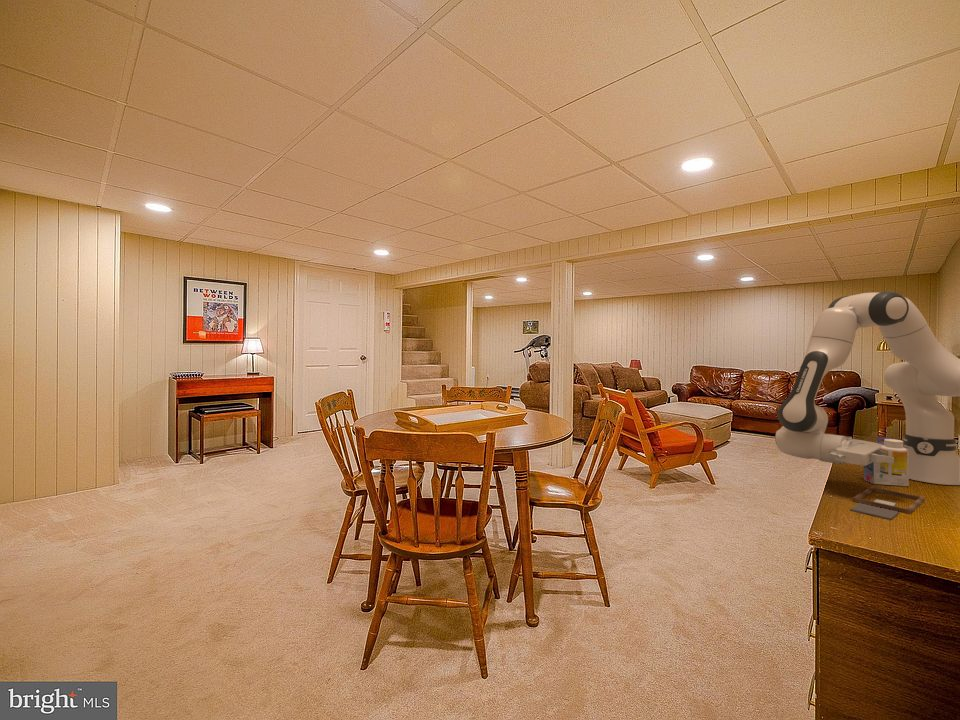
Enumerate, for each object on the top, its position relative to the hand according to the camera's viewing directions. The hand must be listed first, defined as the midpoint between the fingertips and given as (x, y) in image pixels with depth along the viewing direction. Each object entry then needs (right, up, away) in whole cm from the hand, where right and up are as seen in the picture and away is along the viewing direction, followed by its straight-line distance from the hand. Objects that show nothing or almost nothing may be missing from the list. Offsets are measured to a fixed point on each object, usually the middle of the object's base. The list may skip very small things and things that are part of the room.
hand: (897, 458), depth 123 cm
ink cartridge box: (+11, -12, +16) cm, 23 cm away
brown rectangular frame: (-4, -12, -1) cm, 12 cm away
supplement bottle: (-1, -5, +1) cm, 5 cm away
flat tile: (-7, -12, -4) cm, 15 cm away
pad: (-15, -12, -10) cm, 22 cm away
